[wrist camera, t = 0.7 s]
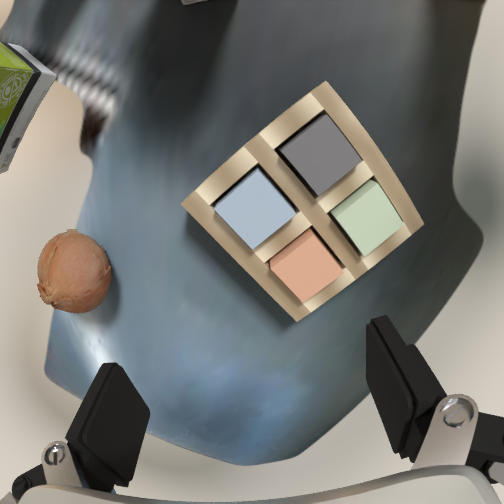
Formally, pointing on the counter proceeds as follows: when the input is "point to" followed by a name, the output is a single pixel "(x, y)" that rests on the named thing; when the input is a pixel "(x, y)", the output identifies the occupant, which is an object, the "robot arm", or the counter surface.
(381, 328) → the robot arm
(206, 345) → the counter surface
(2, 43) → the tea box
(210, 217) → the wooden puzzle board
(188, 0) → the coffee box
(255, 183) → the key pale blue
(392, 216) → the key sage
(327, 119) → the key charcoal
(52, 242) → the onion
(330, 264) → the key terracotta
